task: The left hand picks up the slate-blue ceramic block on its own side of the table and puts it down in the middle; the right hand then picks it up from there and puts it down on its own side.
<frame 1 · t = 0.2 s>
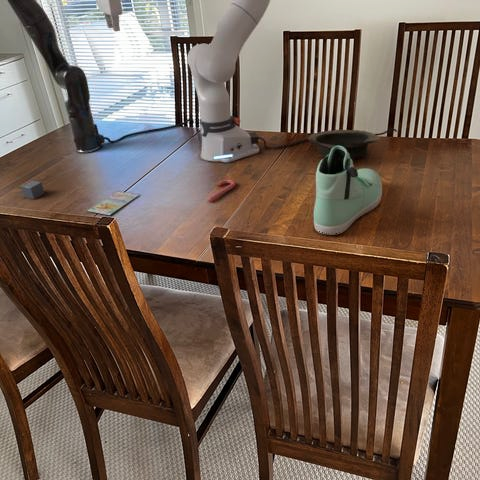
right hand: (113, 29, 148), 48 cm above the table, tool pointing down, fingers open, 8 cm apart
block: (35, 195, 162), on the table
candy cane: (220, 192, 154), on the table
sneaker: (348, 208, 139), on the table
baking ingredient package: (114, 203, 152), on the table
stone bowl: (341, 155, 173), on the table
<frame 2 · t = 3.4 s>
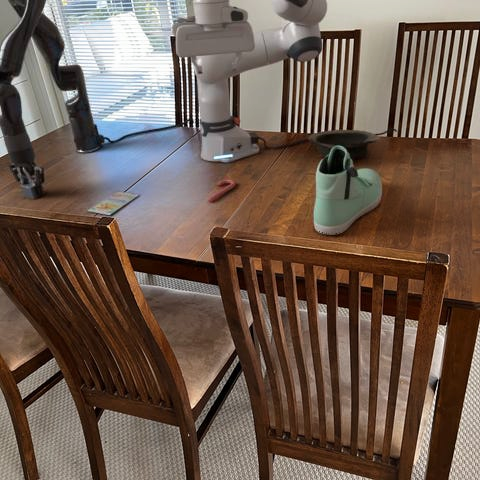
left hand: (34, 193, 162), 1 cm above the table, tool pointing down, fingers closed on block, 4 cm apart
right hand: (217, 72, 126), 39 cm above the table, tool pointing down, fingers open, 8 cm apart
block: (35, 195, 162), on the table, touching left hand
everything else where it was.
when the left hand's fingers open (1 cm above the table, at t = 7.5 s): block stays where it is, on the table.
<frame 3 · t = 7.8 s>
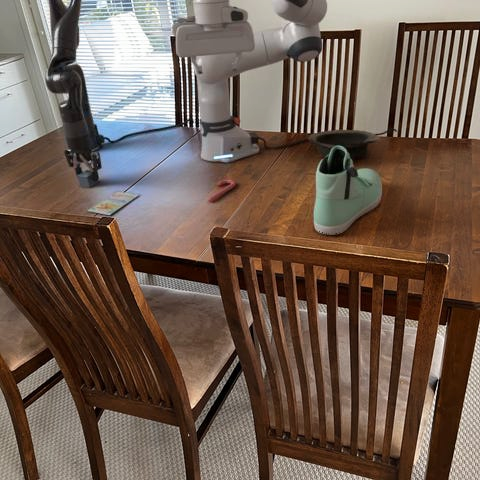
left hand: (88, 179, 166), 2 cm above the table, tool pointing down, fingers open, 6 cm apart
right hand: (217, 72, 126), 39 cm above the table, tool pointing down, fingers open, 8 cm apart
block: (89, 184, 167), on the table
everything else where it was.
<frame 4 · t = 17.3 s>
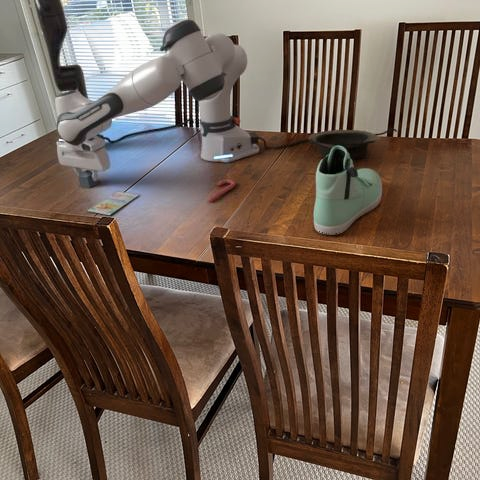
right hand: (88, 179, 166), 2 cm above the table, tool pointing down, fingers closed on block, 4 cm apart
block: (89, 184, 167), on the table, touching right hand
everything else where it was.
when the right hand's fingers open (3 cm above the table, at t = 24.1 s): block stays where it is, on the table.
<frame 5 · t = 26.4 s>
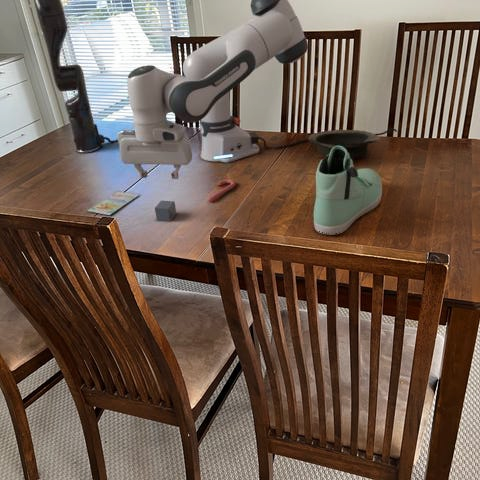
right hand: (159, 177, 136), 13 cm above the table, tool pointing down, fingers open, 8 cm apart
block: (166, 216, 142), on the table
everything else where it was.
at the end: block inside the target area (0.1 cm from its centre), on the table; block tilted 0°; the two hands never held the block at the same time; the left hand is holding nothing; the right hand is holding nothing; block at rest at the end (0.0 cm/s) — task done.
